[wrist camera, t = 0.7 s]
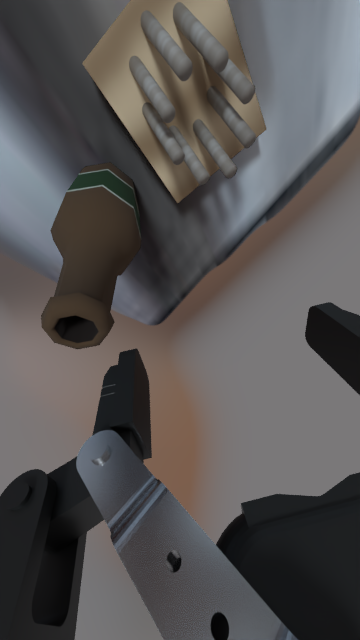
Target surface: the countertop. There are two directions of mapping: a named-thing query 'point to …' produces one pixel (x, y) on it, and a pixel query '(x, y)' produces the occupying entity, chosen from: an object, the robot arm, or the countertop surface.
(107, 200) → the beer bottle
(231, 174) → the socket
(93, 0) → the countertop surface
